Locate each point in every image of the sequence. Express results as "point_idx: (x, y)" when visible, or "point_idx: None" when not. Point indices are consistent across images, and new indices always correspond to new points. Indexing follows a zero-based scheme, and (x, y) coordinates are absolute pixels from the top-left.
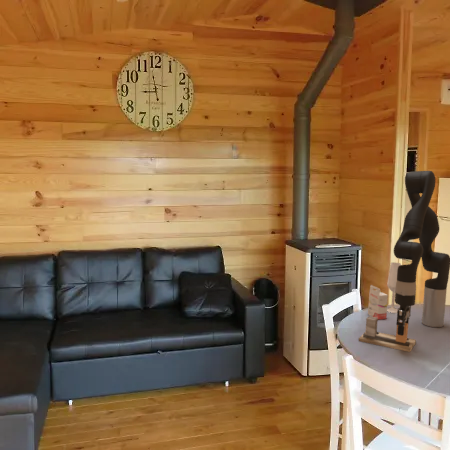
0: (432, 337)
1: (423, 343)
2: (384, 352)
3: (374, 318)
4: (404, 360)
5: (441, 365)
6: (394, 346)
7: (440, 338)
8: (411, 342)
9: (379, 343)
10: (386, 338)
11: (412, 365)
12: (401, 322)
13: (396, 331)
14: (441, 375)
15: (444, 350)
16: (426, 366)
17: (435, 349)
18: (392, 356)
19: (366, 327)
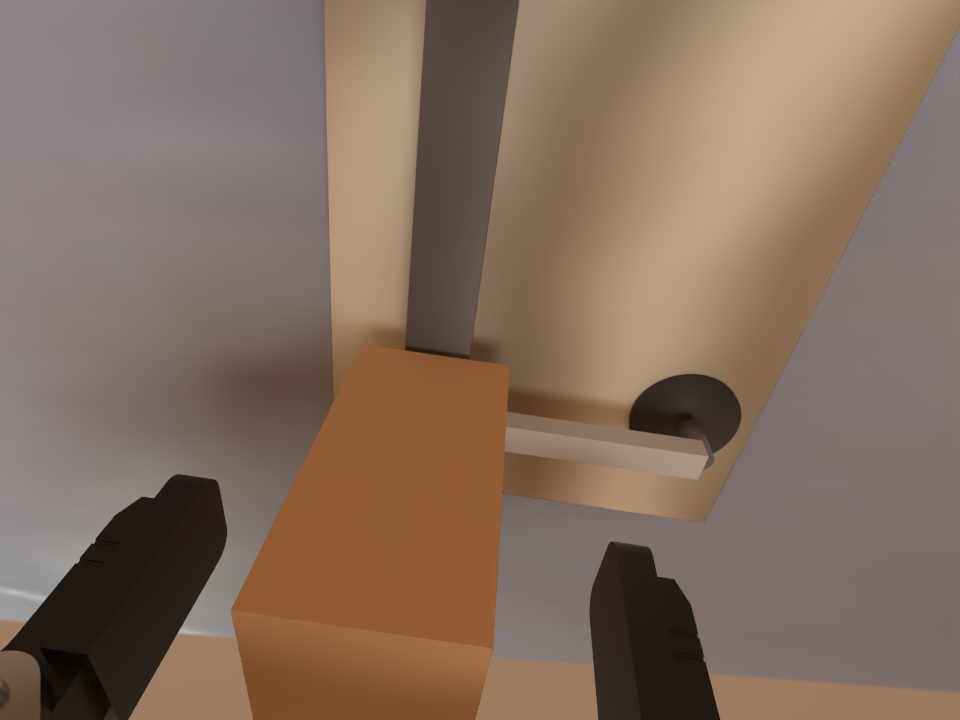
0: (920, 618)
1: (691, 549)
2: (105, 170)
3: None
4: (58, 397)
5: (202, 619)
6: (335, 300)
7: (896, 662)
8: (574, 481)
9: (331, 56)
10: (451, 188)
11: (3, 458)
12: (450, 684)
13: (306, 459)
14: (12, 605)
15: (560, 657)
16: (88, 543)
17: (552, 614)
18: (57, 279)
19: None
